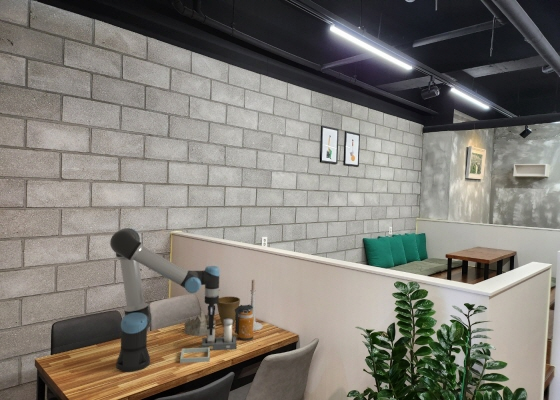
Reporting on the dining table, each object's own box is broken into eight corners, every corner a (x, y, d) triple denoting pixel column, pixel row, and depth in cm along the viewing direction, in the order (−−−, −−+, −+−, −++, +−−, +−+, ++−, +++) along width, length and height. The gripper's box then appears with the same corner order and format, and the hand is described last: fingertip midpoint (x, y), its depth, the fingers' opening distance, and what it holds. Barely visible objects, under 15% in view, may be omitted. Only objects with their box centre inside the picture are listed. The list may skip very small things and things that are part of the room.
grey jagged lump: (219, 332, 227) (218, 307, 227) (196, 340, 215) (194, 314, 215) (204, 327, 237) (202, 303, 237) (181, 334, 226) (179, 309, 226)
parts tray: (180, 365, 183) (180, 358, 183) (182, 354, 195) (182, 348, 195) (209, 363, 186) (209, 357, 186) (209, 353, 198) (209, 347, 198)
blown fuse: (205, 348, 201) (206, 322, 200) (206, 344, 205) (206, 319, 205) (215, 347, 202) (215, 321, 201) (215, 344, 206) (215, 318, 206)
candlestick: (248, 332, 229) (249, 282, 228) (238, 325, 239) (239, 278, 239) (266, 328, 236) (267, 280, 235) (256, 322, 246) (257, 276, 246)
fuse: (223, 347, 202) (223, 321, 202) (223, 344, 207) (223, 318, 207) (232, 347, 203) (232, 321, 203) (231, 343, 208) (232, 318, 208)
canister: (255, 341, 215) (256, 306, 214) (236, 343, 210) (237, 308, 210) (250, 335, 223) (251, 302, 222) (232, 338, 219) (233, 303, 218)
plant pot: (231, 319, 251) (232, 295, 251) (244, 325, 240) (244, 300, 240) (211, 323, 242) (212, 298, 242) (223, 330, 230) (224, 304, 230)
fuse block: (201, 352, 198) (202, 345, 198) (202, 345, 208) (202, 337, 208) (236, 351, 201) (236, 343, 201) (235, 343, 211) (235, 336, 211)
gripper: (219, 299, 195) (218, 344, 195) (218, 291, 212) (217, 332, 213) (204, 300, 194) (203, 345, 194) (205, 291, 211) (203, 332, 211)
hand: (210, 338), depth 203 cm, fingers closed on blown fuse, 4 cm apart
